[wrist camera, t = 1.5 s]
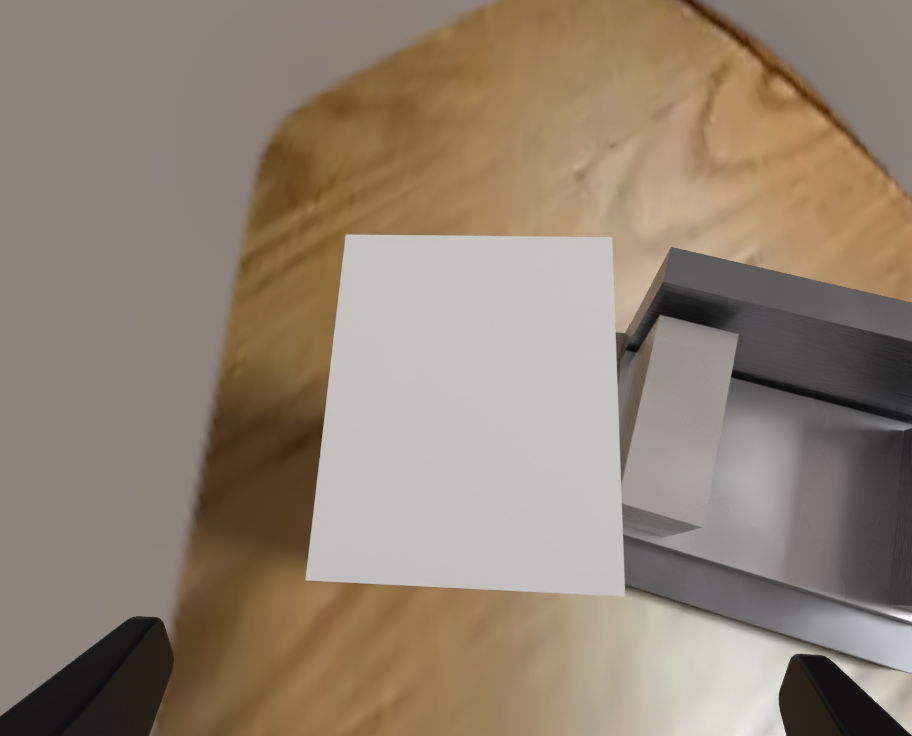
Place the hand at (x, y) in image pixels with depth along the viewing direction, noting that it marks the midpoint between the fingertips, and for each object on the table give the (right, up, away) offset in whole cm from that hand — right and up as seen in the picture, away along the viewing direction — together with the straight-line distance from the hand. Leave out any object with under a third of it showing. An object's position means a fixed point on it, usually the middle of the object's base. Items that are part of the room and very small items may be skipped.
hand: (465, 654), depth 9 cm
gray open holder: (+9, 0, +11) cm, 14 cm away
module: (+1, 0, +11) cm, 11 cm away
